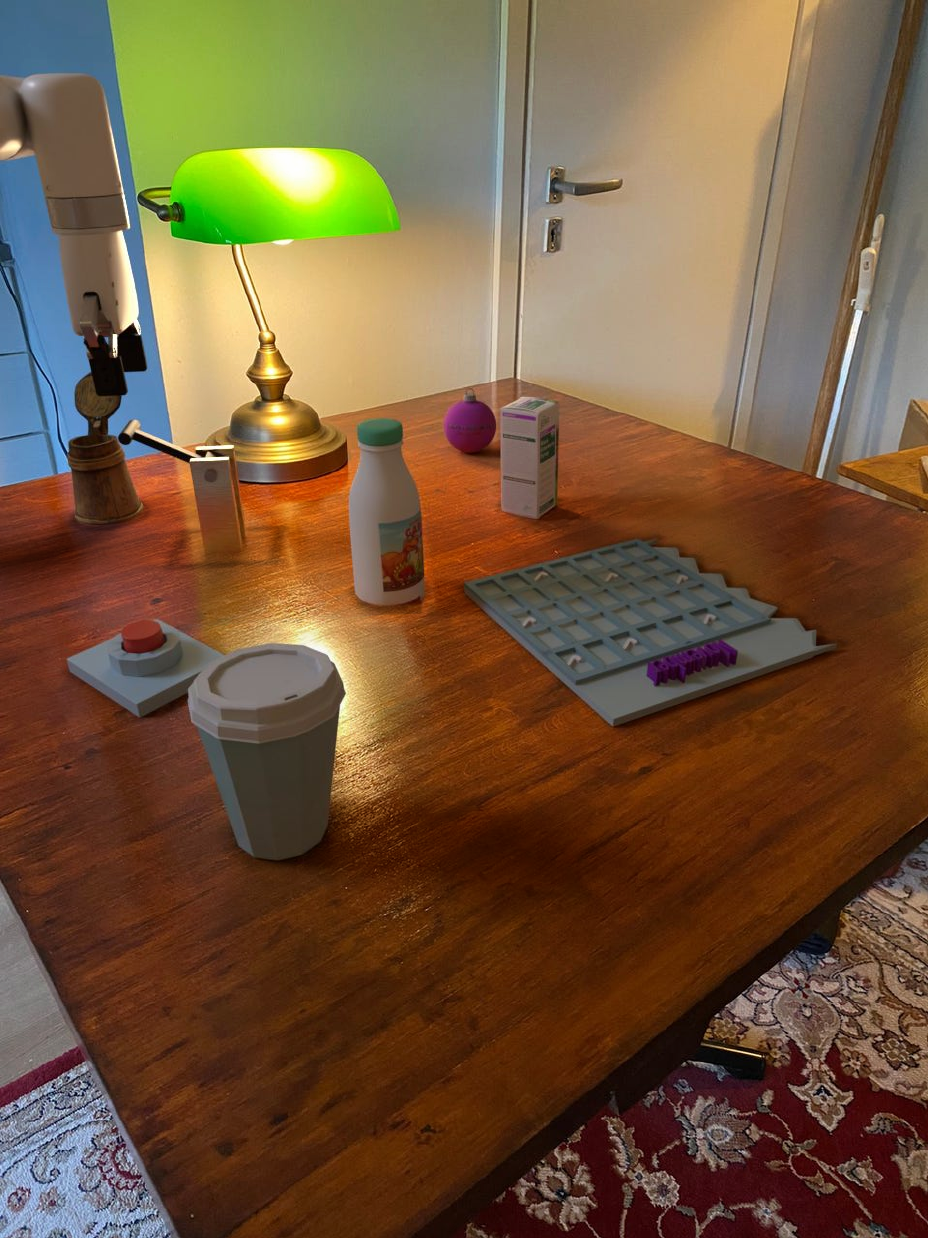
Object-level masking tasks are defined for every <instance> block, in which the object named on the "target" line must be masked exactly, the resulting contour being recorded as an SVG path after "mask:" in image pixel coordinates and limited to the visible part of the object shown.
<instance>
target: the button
mask: <svg viewBox="0 0 928 1238" xmlns="http://www.w3.org/2000/svg"><path fill="white" fill-rule="evenodd" d="M152 620H153V619H144V620H137V621H133V622H130V623H129V624H126V625H125V626H124V627H123V628H122V629H121V632H120V633H121V635H122V639H123V643H124V648H125V650H126V651H127V652H128V653H135V654H142V653H147V652H152V651H154V650H156V649H158V648H160V647H162V646H163V644H164V638H163V633H162V628H161V625H160V624H159V623H158V622H156V621H152Z"/></svg>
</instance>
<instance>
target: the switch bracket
mask: <svg viewBox="0 0 928 1238" xmlns="http://www.w3.org/2000/svg"><path fill="white" fill-rule="evenodd" d="M207 452H211V453H213V454H215V455H218V456H220V457H218V458H205V456H206V454H207ZM194 453H195V454H197V455H199V456H202V457H204V458H195V459H190V461H189V463H190V464H189V463H188V464H189V467H190V473H191V480H192V485H193V491H194V496H195V503H196V509H197V515H198V521H199V526H200V532H201V539H202V544H203V550H204V553H205V554H212V553H213V554H214V553H215V554H217V553H234V552H242V551H243V548H244V547H243V542H242V541H243V540H242V539H244V538H247V527H246V520H245V513H244V507H243V506H244V505H243V499H242V492H241V486H240V478H239V472H238V465H237V458H236V450H235V445H215V446H214V445H213V446H211V445H210V446H196V447H195V449H194Z"/></svg>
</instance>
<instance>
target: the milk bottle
mask: <svg viewBox="0 0 928 1238" xmlns="http://www.w3.org/2000/svg"><path fill="white" fill-rule="evenodd" d="M403 428H404V427H403V424H402V422H400V421H399V420H397V419H394V418H388V417H374V418H369V419H366V420H362V421H361V422H359V423H358V424H357V425H356V436H357V440H358V443H357V446H358V448H360V457H359V462H358V467H357V470H356V471H355V475H354V477H353V480H352V483H351V486H350V489H349V496H348V524H349V535H350V536H349V537H350V550H351V562H352V573H353V584H354V585H353V586H354V593H355V595H356V597H357V598H358V599H359V600H361V601H363V602H365V603H368V604H371V605H376V606H396V605H401V604H406V603H409V602H412V601H414V600H416V599H418V598H419V600H420V602H422V601H423V599H424V597H425V564H424V563H425V562H424V541H423V520H422V508H421V506H422V505H421V499H420V493H419V490H418V487H417V484H416V481H415V479H414V478H413V476H412V474H411V472H410V470H409V468H408V466H407V463H406V461H405V459H404V455H403V452H402V451H403V450H402V446H403V445H404V440H403V438H404V429H403Z"/></svg>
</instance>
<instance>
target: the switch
mask: <svg viewBox="0 0 928 1238" xmlns="http://www.w3.org/2000/svg"><path fill="white" fill-rule="evenodd" d="M141 428H142V425H141V423H140V421H139V420H137V419H130V420H129V421H128V422H127V423H126V425H125V426H124V427H123V429H122V430H121V431H120V433H119V434H118V436H117V439H118V442H119V444H120V445H123V446H129V445H130V444H131V443H132V441H135V442H137V443H139V444H142V445H144V446H146V447H149V448H151V449H154V450H156V451H159V452H161V453H163V454H166V455H168V456H171V457H172V458H175V459H177V460H180V461H182V462H185V463H187V464H189V465H190V463H189V461H190V459H195V458H204V457H202V456H199V455H197V454H196V452H192V451H190V450H187V449H185V448H182V447H181V446H178V445H175V444H174V443H171V442H169V441H167V440H164V439H161V438H159V437H157V436H154V435H152V434H150V433H148V432H145V431H143V430H141ZM218 457H220V456H218V455H215V454H213V453H211V452H207V454H206V456H205V458H218Z"/></svg>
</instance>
